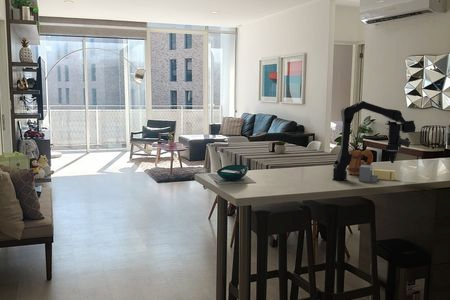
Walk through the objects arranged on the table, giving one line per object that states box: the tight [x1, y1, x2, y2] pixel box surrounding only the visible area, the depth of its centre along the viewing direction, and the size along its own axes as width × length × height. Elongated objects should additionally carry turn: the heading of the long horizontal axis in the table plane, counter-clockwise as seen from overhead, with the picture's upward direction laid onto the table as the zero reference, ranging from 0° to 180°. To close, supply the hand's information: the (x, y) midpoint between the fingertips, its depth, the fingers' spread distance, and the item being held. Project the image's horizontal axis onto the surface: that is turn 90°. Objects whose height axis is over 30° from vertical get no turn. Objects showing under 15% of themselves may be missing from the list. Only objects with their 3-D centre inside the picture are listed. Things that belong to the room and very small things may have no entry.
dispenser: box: [358, 164, 379, 183], centre depth 239 cm, size 8×8×8 cm
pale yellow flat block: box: [372, 168, 396, 181], centre depth 243 cm, size 11×2×5 cm, turn 64°
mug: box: [346, 148, 374, 176], centre depth 257 cm, size 15×8×15 cm, turn 62°
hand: (393, 161), depth 240 cm, fingers open, 9 cm apart
